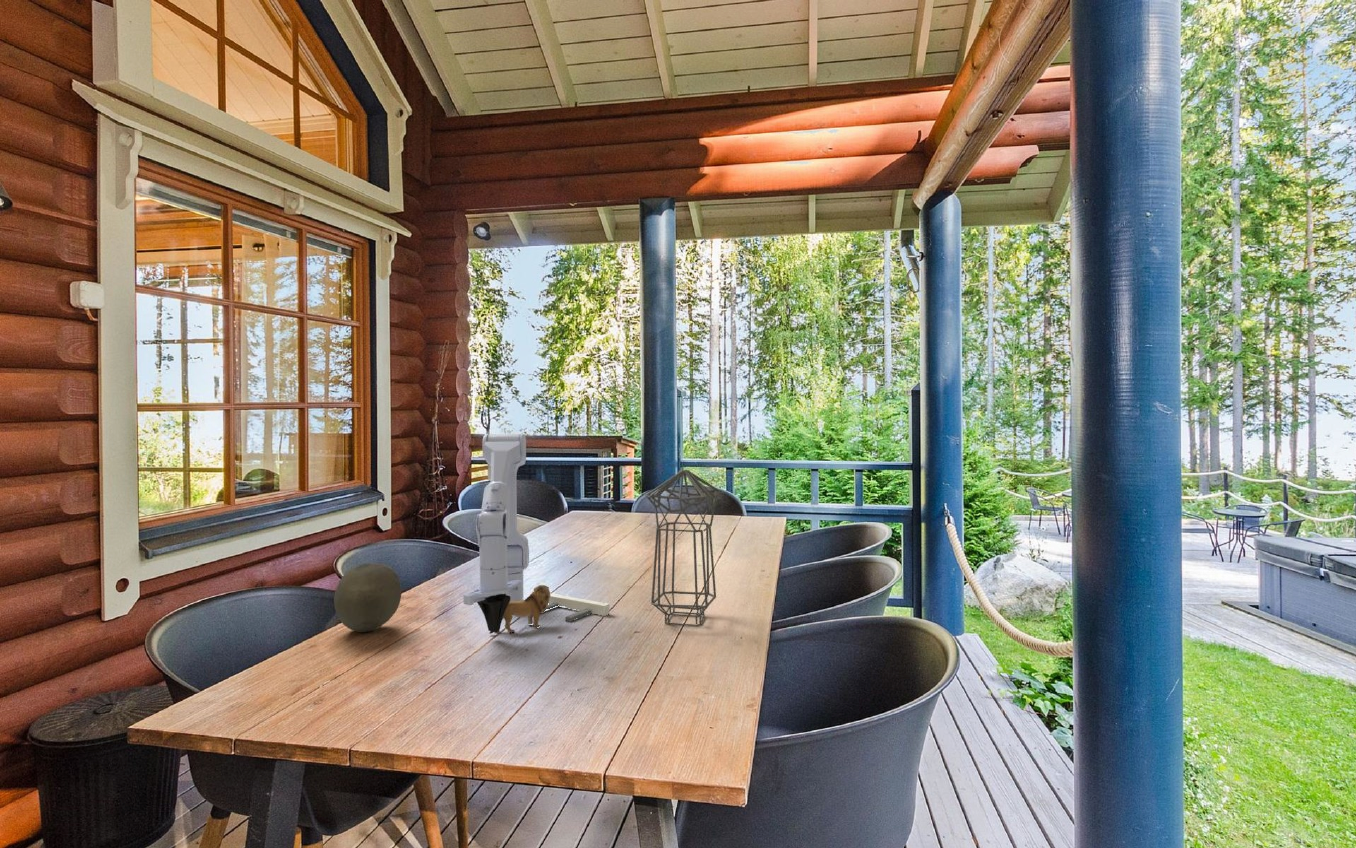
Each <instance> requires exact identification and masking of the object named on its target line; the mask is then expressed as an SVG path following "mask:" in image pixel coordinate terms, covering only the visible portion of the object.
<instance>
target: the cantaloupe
mask: <svg viewBox="0 0 1356 848" xmlns="http://www.w3.org/2000/svg"><path fill="white" fill-rule="evenodd" d="M402 592H403V591H402V583H401V581H400V578H399V575H398V573H397V572H396V570H394V569H393V568H392V567H391V566H389V565H387V564H384V563H379V562H366V563H361V564H358V565H356V566H355V567H352V568H351V569H349V570H347V571H346V572H345V573H344V575H343V576H342V577H341V579H340V581H339V582H338V585H337V586H336V589H335V591H334V596H333V604H334V610H335V612H336V615H337V616H338V619H339V620H340V622H341V623H342V625H344V626H345V627H346V628H348V629H350V630H351V631H354V632H357V633H366V632H365V631H368V632H371V630H372V631H374V630H377V629H379V628H380V627H381V626H383V625H385V624H386V623H387V622H389V620H391V618H392V617H393V616H394V615H395V613H397V610H398V609H399V605H400V603H401V598H402V594H403V593H402Z"/></svg>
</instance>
